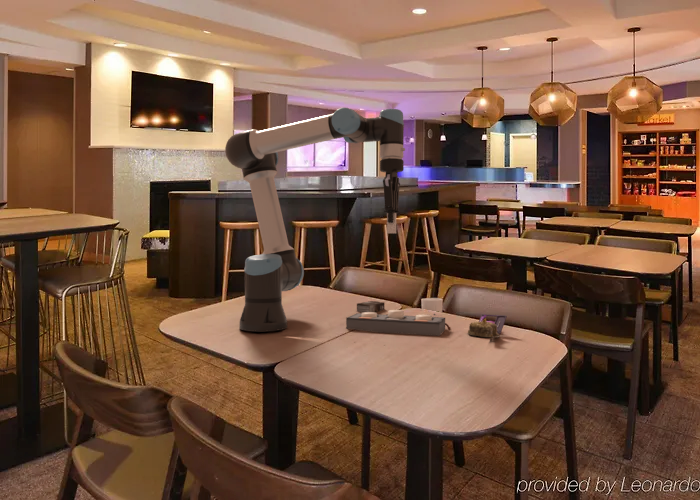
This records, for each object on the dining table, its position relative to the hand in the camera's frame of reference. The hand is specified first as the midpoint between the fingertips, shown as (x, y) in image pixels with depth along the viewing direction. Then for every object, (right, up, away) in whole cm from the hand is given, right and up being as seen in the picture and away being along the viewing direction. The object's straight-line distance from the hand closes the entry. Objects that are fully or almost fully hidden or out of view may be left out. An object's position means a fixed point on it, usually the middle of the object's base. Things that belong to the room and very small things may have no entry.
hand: (391, 233), depth 177 cm
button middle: (+2, -28, +2) cm, 28 cm away
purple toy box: (+36, -30, -4) cm, 46 cm away
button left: (-7, -29, +4) cm, 30 cm away
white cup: (+17, -34, +29) cm, 48 cm away
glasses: (+15, -34, +10) cm, 38 cm away
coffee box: (-6, -41, +24) cm, 48 cm away
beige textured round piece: (+28, -32, -7) cm, 43 cm away
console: (+1, -31, +2) cm, 31 cm away
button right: (+10, -29, -1) cm, 31 cm away
